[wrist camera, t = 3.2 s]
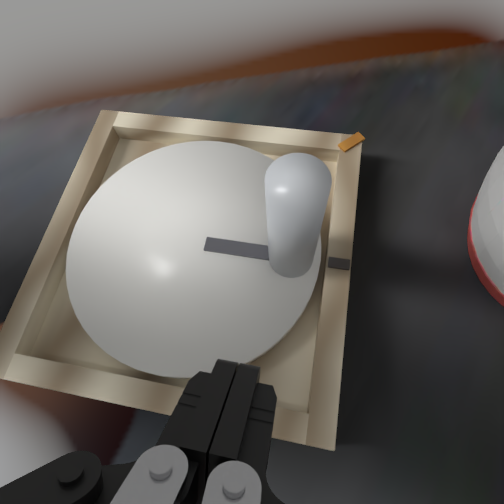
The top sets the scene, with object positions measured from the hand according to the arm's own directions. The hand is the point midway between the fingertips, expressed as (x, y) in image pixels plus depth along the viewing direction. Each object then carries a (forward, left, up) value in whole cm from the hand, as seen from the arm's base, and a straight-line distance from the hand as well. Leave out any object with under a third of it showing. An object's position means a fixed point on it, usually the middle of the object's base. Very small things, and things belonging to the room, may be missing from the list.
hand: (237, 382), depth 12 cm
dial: (-6, +9, -11) cm, 15 cm away
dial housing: (-6, +9, -12) cm, 16 cm away
